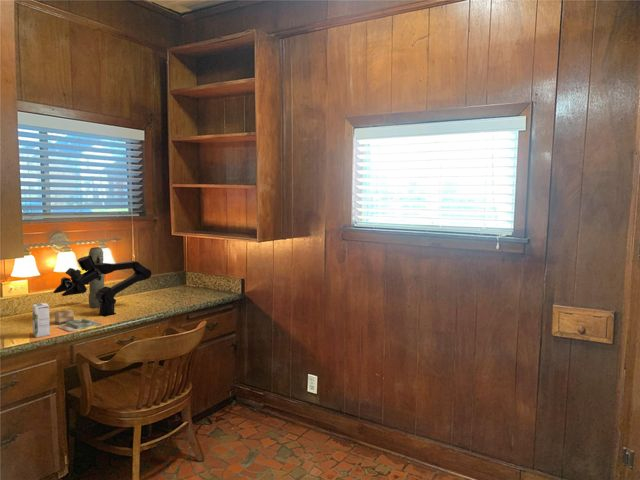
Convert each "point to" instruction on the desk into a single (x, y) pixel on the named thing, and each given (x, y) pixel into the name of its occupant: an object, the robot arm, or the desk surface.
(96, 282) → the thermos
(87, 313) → the desk surface
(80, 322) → the socket plate
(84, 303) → the desk surface
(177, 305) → the desk surface
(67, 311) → the plug block
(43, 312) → the syrup box
